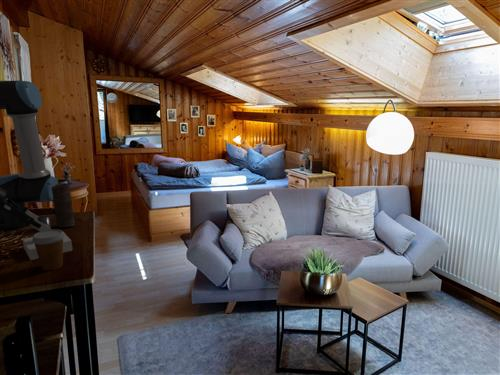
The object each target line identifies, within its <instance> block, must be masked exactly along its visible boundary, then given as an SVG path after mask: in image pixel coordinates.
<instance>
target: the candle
mask: <svg viewBox="0 0 500 375" xmlns="http://www.w3.org/2000/svg"><path fill="white" fill-rule="evenodd" d="M52 194H53V200H52V201H53V207H54V216H55V223H56V224H55V225H56V227H59V228H68V227H74V226H75V225H76V224H75V216H74V210H73V204H72V196H71V187H70V183H58V184H56V185H55V186H53V187H52Z"/></svg>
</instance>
